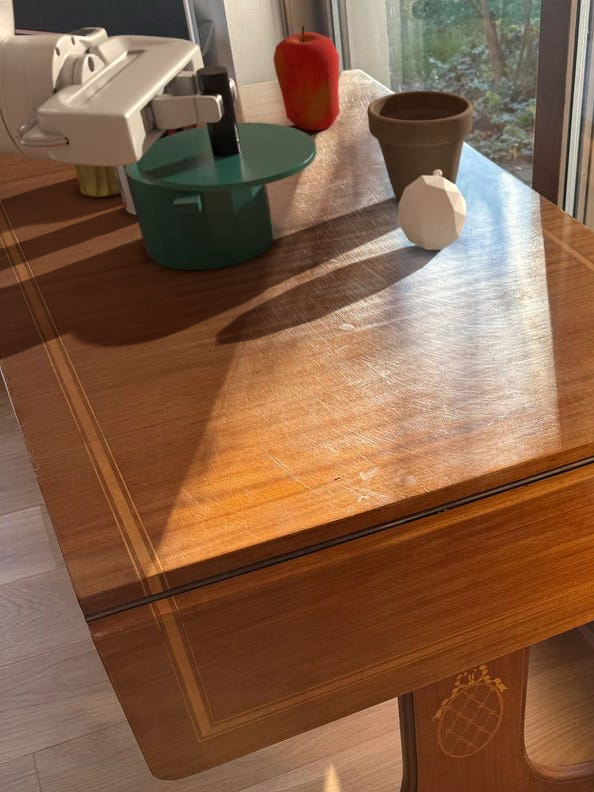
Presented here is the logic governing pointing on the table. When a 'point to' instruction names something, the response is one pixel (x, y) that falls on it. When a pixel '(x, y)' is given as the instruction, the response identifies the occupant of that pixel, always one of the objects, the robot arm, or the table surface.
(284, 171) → the lid
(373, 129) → the flower pot
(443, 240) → the ornament
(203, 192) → the pot
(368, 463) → the table surface
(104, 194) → the vase
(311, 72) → the apple
